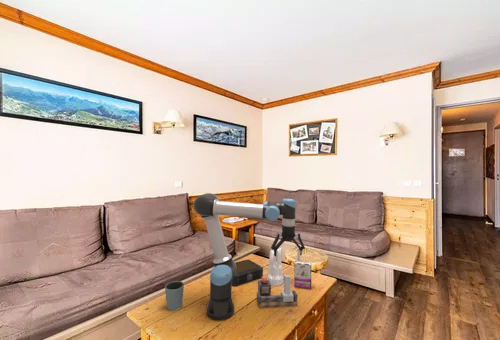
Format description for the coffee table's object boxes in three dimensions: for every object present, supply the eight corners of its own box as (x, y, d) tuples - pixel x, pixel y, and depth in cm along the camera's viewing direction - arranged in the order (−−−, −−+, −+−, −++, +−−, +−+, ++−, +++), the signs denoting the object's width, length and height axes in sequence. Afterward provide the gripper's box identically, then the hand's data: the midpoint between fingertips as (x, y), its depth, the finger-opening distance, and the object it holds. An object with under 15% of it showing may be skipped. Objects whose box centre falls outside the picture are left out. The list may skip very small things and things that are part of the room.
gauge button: (262, 283, 143) (262, 278, 143) (261, 281, 146) (261, 275, 146) (267, 283, 143) (267, 278, 143) (266, 281, 147) (266, 275, 146)
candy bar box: (311, 286, 157) (311, 261, 157) (311, 289, 153) (311, 264, 153) (294, 283, 160) (294, 260, 160) (293, 287, 155) (294, 262, 155)
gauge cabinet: (259, 298, 141) (259, 285, 141) (257, 293, 147) (257, 280, 147) (270, 297, 142) (270, 284, 142) (268, 292, 148) (268, 280, 148)
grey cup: (187, 304, 134) (187, 283, 134) (173, 313, 125) (173, 291, 125) (175, 299, 139) (175, 279, 139) (160, 307, 130) (161, 286, 130)
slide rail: (258, 308, 131) (259, 298, 131) (256, 300, 139) (256, 291, 139) (298, 305, 134) (298, 296, 134) (293, 298, 142) (293, 289, 142)
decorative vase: (282, 286, 156) (283, 249, 156) (266, 285, 158) (267, 248, 158) (283, 279, 166) (283, 244, 166) (268, 277, 168) (269, 243, 168)
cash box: (234, 288, 154) (234, 276, 154) (220, 276, 170) (220, 265, 170) (264, 278, 168) (264, 267, 168) (248, 268, 185) (248, 258, 185)
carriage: (283, 302, 134) (283, 278, 134) (280, 296, 140) (281, 273, 140) (293, 301, 135) (293, 278, 135) (290, 296, 141) (290, 273, 141)
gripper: (269, 227, 132) (268, 264, 132) (311, 226, 136) (310, 262, 136) (266, 223, 140) (265, 259, 140) (306, 223, 143) (305, 257, 143)
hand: (287, 261), depth 138 cm, fingers open, 13 cm apart
